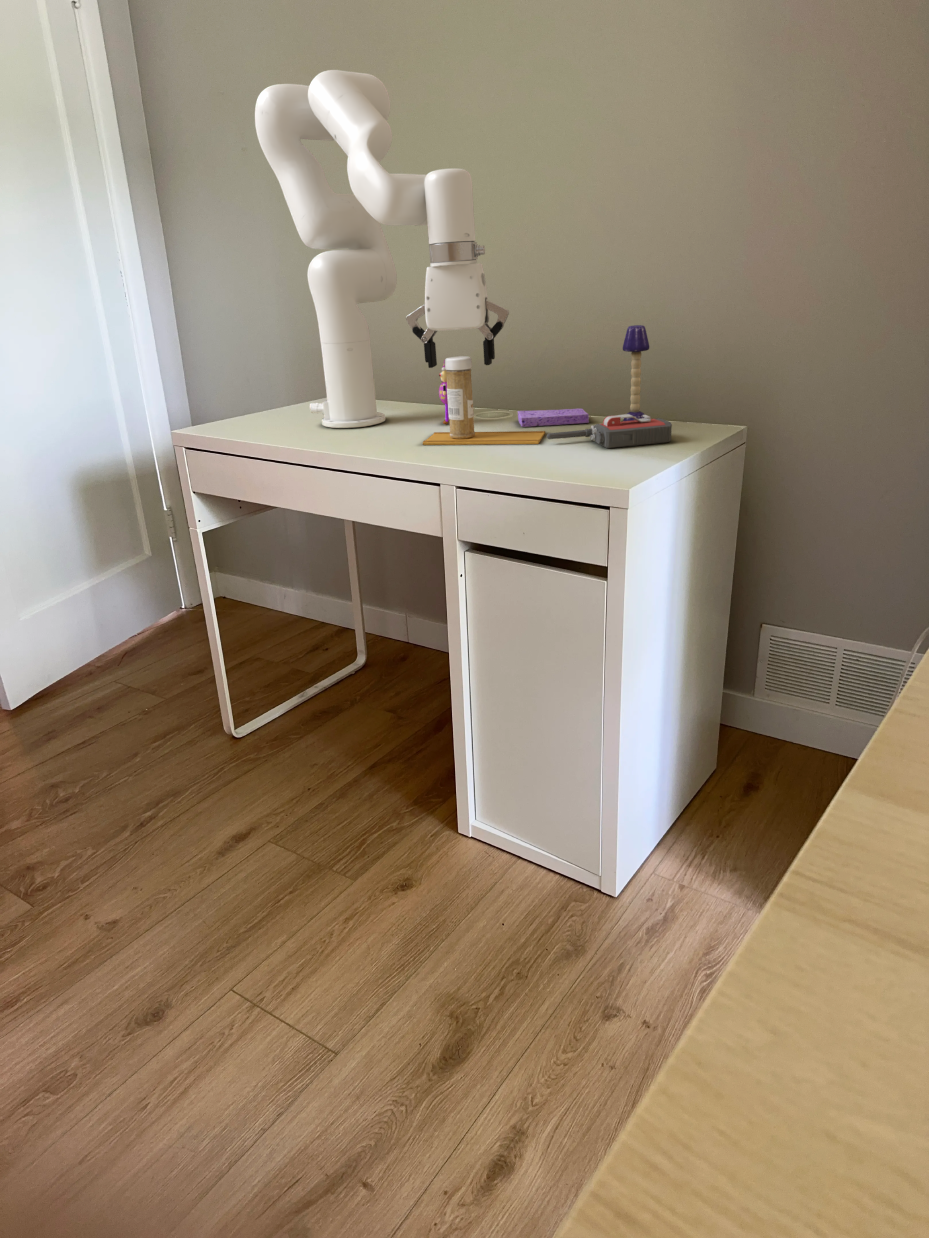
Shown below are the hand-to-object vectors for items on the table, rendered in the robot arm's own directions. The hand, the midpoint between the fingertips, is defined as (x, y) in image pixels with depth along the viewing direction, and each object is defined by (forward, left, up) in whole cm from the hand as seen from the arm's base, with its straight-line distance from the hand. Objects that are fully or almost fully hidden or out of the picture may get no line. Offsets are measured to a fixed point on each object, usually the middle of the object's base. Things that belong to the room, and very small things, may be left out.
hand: (460, 365), depth 144 cm
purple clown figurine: (-6, +15, -13) cm, 21 cm away
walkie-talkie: (+26, -4, -13) cm, 29 cm away
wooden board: (+4, 0, -13) cm, 13 cm away
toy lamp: (+29, +14, -13) cm, 34 cm away
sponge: (+14, +15, -13) cm, 24 cm away
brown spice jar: (0, 0, -12) cm, 12 cm away
